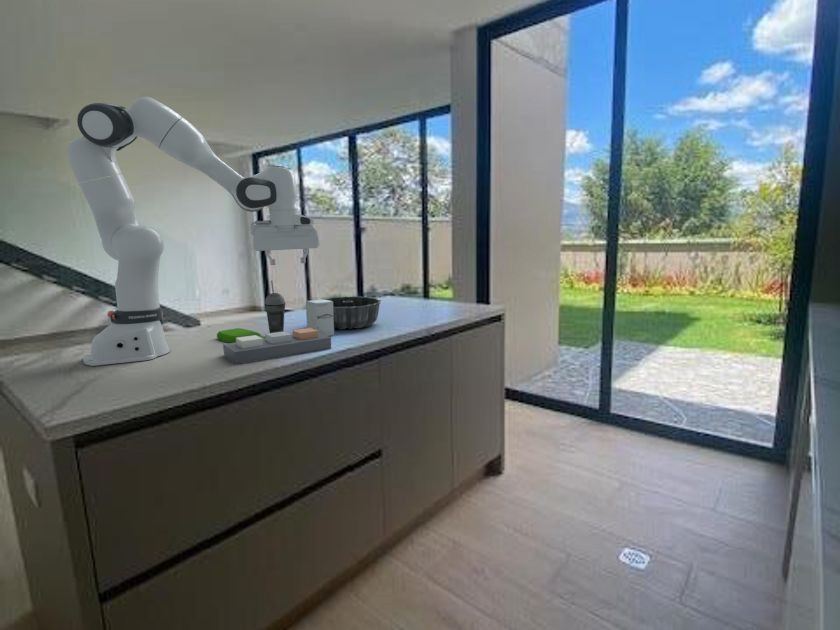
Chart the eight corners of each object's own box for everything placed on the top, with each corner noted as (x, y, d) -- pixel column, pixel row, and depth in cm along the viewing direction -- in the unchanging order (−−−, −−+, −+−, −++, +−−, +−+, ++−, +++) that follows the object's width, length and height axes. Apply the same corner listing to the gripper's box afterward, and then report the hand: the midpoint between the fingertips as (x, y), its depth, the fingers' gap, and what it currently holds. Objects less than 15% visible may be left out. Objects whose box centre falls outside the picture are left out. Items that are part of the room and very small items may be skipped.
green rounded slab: (241, 335, 174) (282, 345, 160) (213, 340, 166) (254, 351, 151) (241, 327, 174) (282, 337, 159) (213, 331, 165) (253, 342, 151)
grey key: (272, 346, 144) (272, 337, 143) (265, 343, 148) (265, 333, 148) (291, 343, 147) (291, 334, 147) (284, 340, 152) (283, 331, 151)
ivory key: (242, 351, 138) (242, 341, 138) (236, 347, 143) (235, 337, 142) (263, 348, 142) (262, 338, 141) (256, 344, 147) (255, 335, 146)
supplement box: (316, 338, 167) (314, 303, 164) (306, 334, 172) (305, 300, 170) (334, 335, 171) (333, 301, 169) (324, 332, 177) (323, 298, 175)
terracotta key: (300, 342, 149) (300, 333, 149) (293, 339, 154) (292, 330, 153) (318, 339, 153) (317, 330, 152) (310, 336, 157) (309, 327, 157)
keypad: (236, 363, 135) (235, 352, 134) (223, 355, 144) (223, 344, 143) (331, 348, 153) (330, 337, 152) (315, 341, 162) (314, 331, 161)
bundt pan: (371, 333, 175) (371, 306, 173) (304, 331, 179) (303, 305, 177) (387, 320, 201) (387, 297, 199) (328, 318, 205) (327, 295, 203)
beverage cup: (274, 338, 166) (271, 282, 163) (262, 336, 170) (258, 280, 167) (291, 335, 172) (288, 280, 168) (279, 332, 176) (276, 279, 173)
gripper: (250, 220, 142) (254, 266, 145) (318, 219, 149) (321, 262, 152) (249, 220, 148) (253, 265, 150) (315, 219, 155) (318, 261, 158)
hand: (288, 264), depth 151 cm, fingers open, 8 cm apart
